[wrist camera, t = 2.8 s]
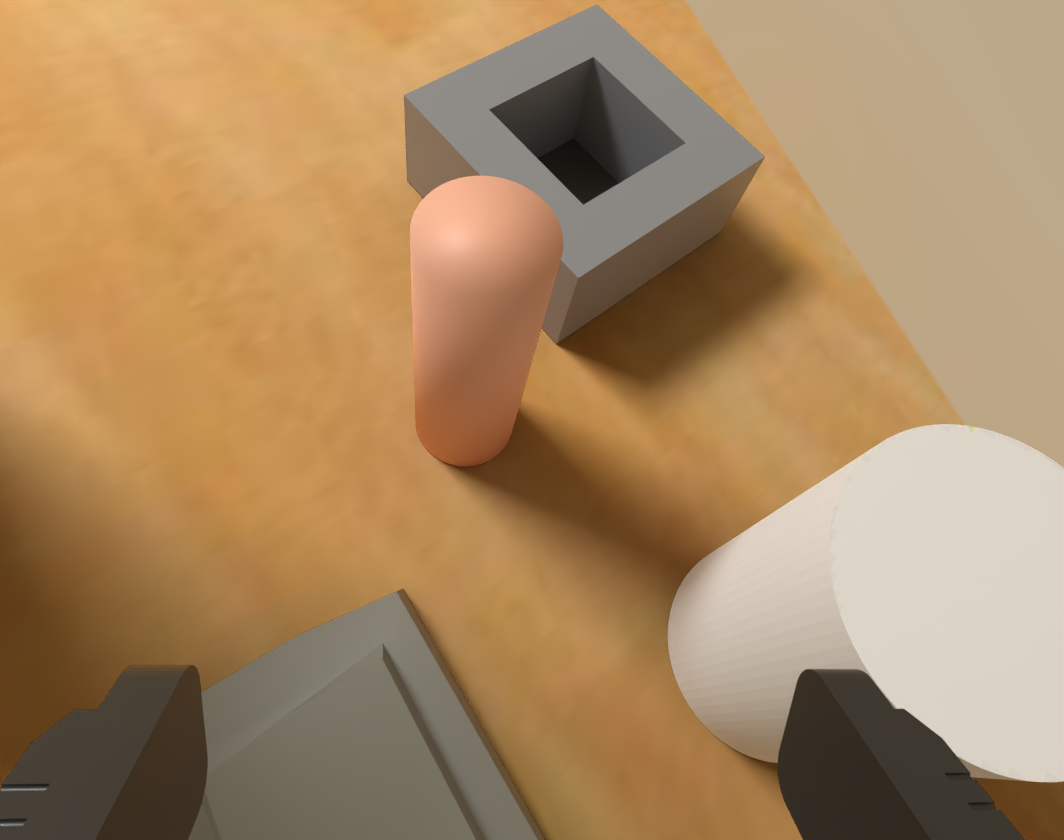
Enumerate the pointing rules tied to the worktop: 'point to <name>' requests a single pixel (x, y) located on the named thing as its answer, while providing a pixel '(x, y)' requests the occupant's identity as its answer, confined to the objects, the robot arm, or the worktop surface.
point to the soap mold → (353, 742)
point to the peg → (477, 310)
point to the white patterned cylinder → (895, 601)
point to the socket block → (587, 154)
